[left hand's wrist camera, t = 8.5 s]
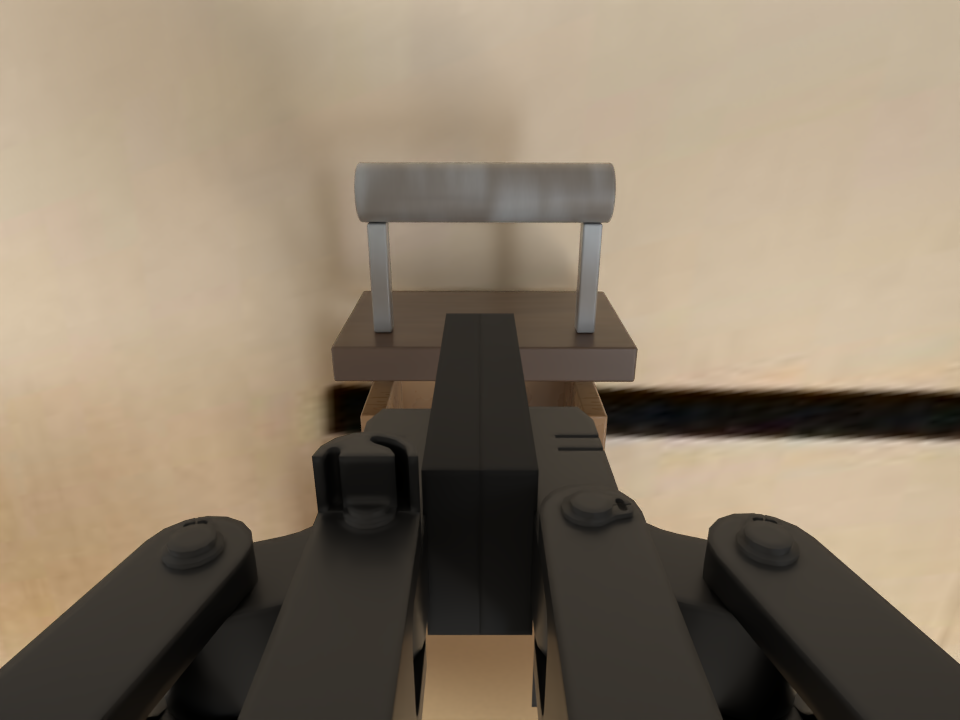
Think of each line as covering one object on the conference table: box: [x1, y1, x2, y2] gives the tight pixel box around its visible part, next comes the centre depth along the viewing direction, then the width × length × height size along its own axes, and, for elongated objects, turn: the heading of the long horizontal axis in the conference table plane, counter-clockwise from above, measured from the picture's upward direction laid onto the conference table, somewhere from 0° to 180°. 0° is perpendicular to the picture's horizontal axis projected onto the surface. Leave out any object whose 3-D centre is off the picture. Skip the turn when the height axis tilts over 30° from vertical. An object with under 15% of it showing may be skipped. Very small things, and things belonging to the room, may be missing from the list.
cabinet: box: [422, 626, 538, 720], centre depth 31 cm, size 20×11×8 cm, turn 0°
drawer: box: [331, 162, 637, 451], centre depth 26 cm, size 25×10×6 cm, turn 0°
